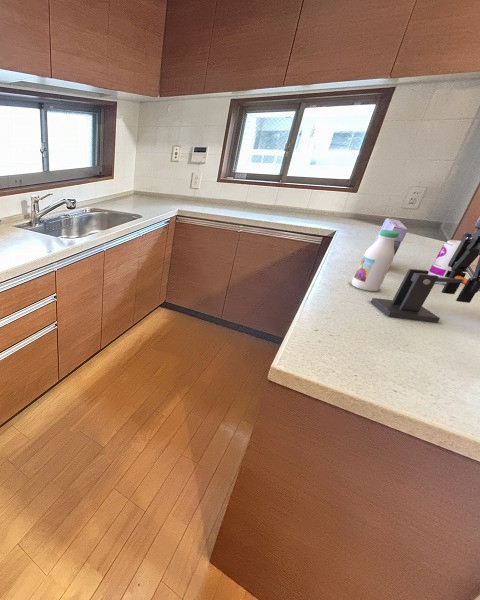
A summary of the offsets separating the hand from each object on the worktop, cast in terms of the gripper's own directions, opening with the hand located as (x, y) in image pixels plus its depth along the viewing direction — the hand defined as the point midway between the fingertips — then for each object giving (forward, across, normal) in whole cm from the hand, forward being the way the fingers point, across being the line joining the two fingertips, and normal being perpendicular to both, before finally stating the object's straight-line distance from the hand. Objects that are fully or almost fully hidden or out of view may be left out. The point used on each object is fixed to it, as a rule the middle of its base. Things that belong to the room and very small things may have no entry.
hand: (455, 297), depth 93 cm
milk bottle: (+7, -19, -12) cm, 23 cm away
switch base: (+6, 0, -10) cm, 12 cm away
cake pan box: (+7, -49, +6) cm, 50 cm away
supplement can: (+7, -34, +19) cm, 40 cm away
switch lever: (-4, 0, -5) cm, 7 cm away
